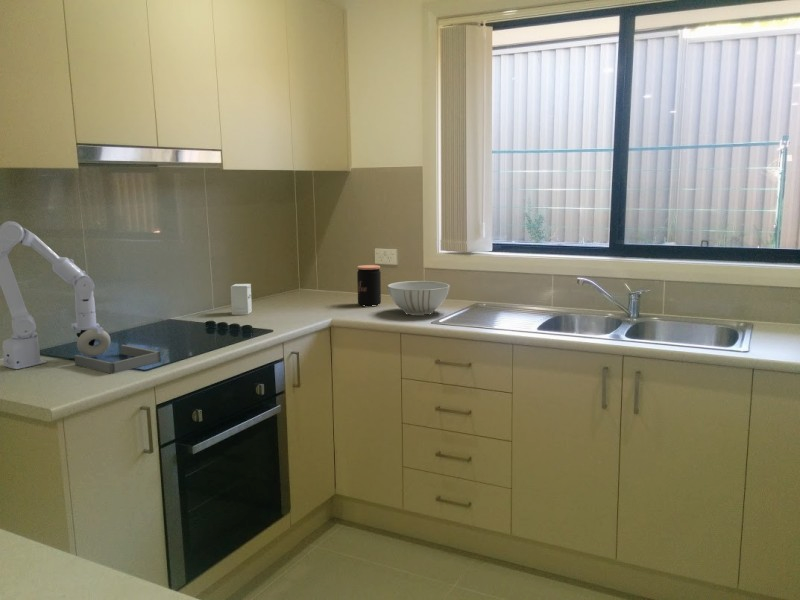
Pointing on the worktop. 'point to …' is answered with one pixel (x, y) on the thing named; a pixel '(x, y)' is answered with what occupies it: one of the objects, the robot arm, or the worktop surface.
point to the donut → (97, 349)
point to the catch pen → (139, 359)
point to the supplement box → (241, 299)
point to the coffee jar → (369, 285)
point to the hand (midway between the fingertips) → (89, 353)
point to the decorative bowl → (418, 296)
